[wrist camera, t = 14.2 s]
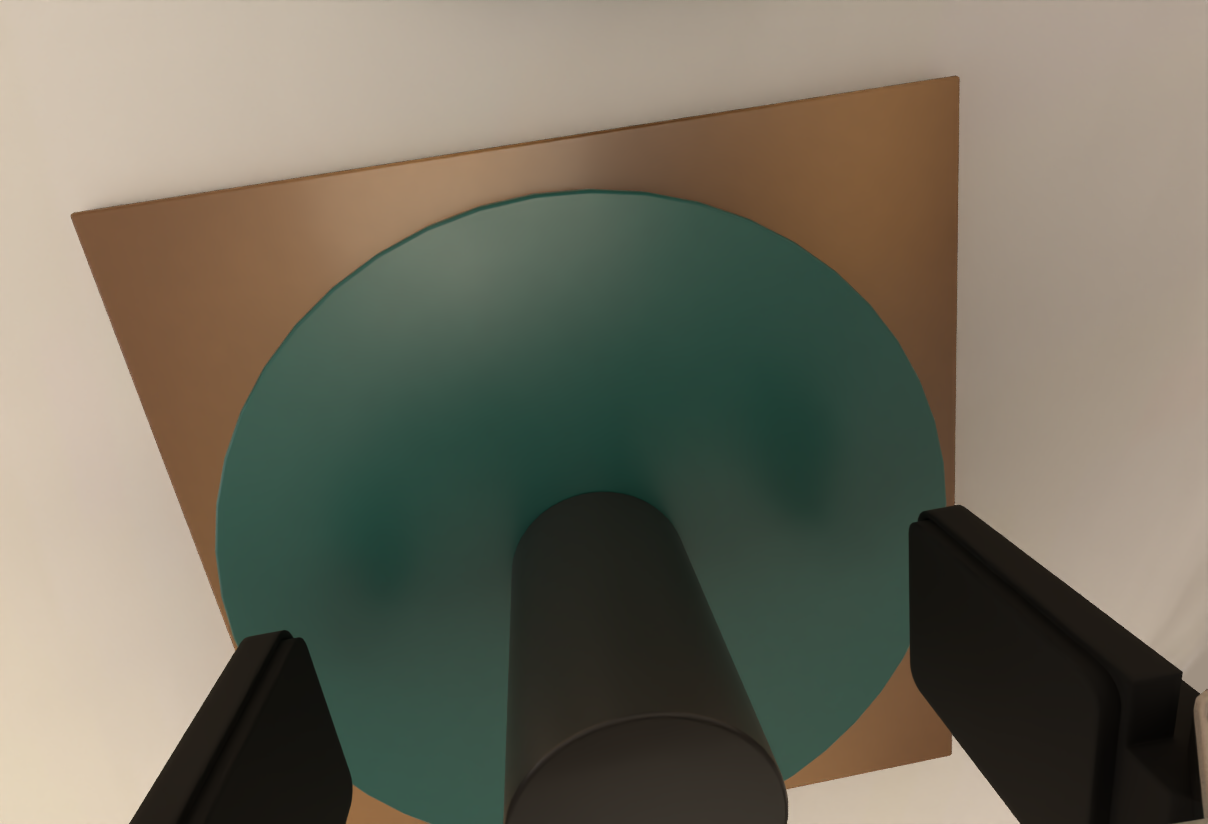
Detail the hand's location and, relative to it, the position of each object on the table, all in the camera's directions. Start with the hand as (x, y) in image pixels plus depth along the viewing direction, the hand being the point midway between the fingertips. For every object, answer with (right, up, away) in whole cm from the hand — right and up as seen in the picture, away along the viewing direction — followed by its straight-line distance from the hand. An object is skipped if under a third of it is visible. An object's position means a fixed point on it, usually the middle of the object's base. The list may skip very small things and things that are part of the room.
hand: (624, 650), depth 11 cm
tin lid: (0, +1, +3) cm, 3 cm away
